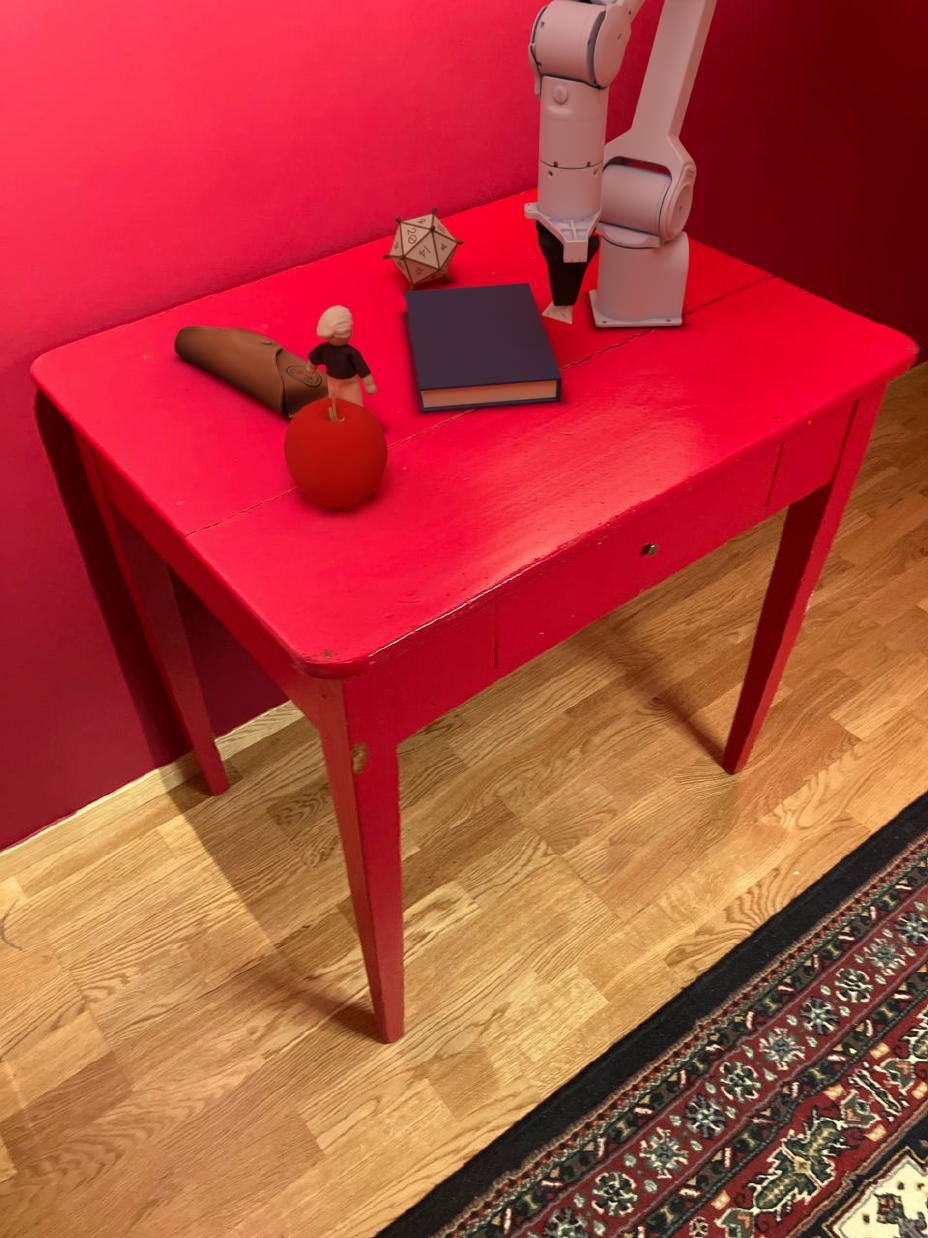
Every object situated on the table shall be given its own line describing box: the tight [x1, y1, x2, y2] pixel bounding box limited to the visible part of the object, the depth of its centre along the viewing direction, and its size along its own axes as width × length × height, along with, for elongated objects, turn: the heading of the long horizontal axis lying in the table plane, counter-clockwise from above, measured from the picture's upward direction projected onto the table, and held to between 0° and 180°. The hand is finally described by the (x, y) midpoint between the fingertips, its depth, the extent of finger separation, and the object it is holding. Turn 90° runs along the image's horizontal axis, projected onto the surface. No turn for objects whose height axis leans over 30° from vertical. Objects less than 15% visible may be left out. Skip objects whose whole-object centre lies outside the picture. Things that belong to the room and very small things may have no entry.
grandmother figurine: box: [306, 305, 378, 408], centre depth 95 cm, size 8×4×13 cm, turn 71°
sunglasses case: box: [173, 325, 329, 420], centre depth 105 cm, size 18×7×7 cm
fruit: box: [283, 390, 389, 508], centre depth 89 cm, size 9×9×10 cm
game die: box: [381, 205, 466, 291], centre depth 118 cm, size 9×8×10 cm
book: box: [404, 282, 563, 414], centre depth 108 cm, size 14×20×3 cm
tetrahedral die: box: [541, 300, 573, 325], centre depth 101 cm, size 4×3×3 cm
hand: (563, 299), depth 100 cm, fingers closed on tetrahedral die
